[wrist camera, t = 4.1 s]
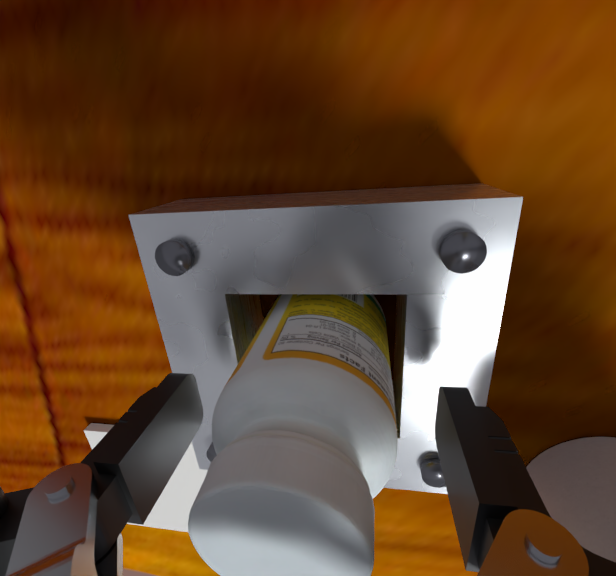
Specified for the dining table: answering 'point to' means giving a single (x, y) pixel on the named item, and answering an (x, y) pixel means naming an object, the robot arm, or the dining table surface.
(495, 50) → the dining table surface
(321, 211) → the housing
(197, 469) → the mat
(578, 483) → the coffee cup
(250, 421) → the supplement bottle
